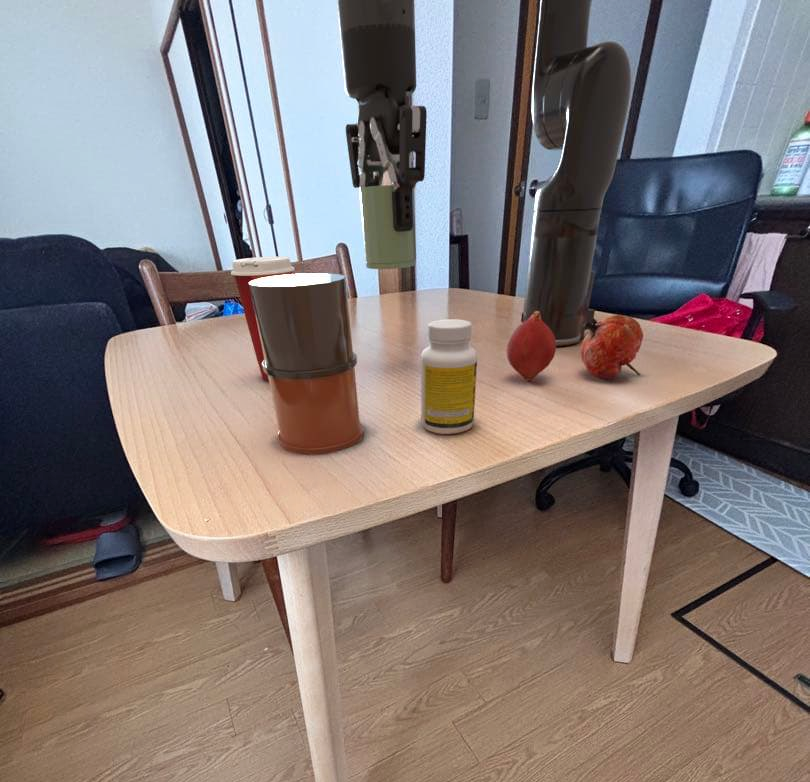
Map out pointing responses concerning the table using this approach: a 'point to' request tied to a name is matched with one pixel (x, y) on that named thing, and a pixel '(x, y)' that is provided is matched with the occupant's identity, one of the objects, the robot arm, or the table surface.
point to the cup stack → (309, 360)
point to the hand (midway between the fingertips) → (388, 230)
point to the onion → (531, 347)
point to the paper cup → (244, 275)
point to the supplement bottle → (448, 378)
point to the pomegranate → (611, 345)
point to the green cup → (385, 231)
